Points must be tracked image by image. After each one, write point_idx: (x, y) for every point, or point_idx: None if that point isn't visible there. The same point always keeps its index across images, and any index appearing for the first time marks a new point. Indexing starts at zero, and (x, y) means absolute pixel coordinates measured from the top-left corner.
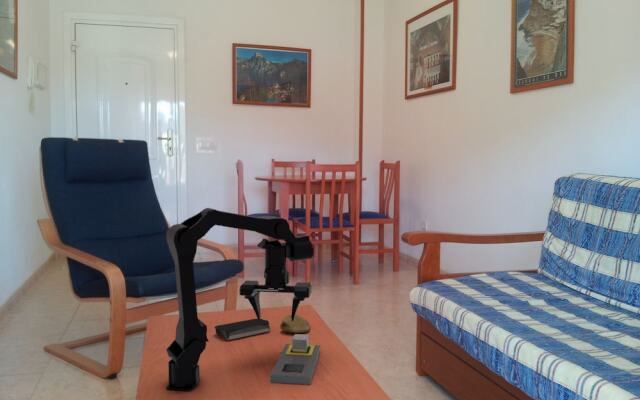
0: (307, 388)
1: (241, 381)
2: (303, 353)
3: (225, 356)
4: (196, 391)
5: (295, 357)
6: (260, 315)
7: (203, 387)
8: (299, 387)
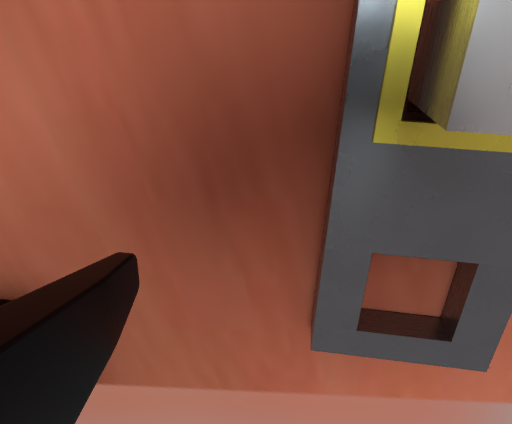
0: None
1: (199, 315)
2: None
3: (27, 73)
4: None
5: (434, 175)
6: (120, 273)
7: None
8: None
